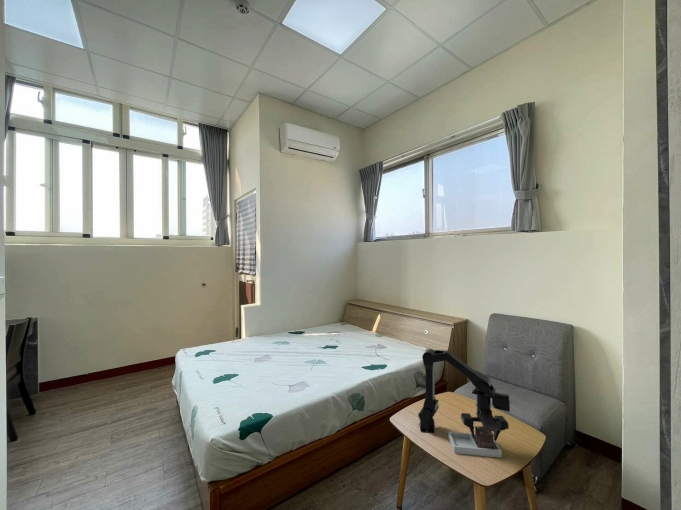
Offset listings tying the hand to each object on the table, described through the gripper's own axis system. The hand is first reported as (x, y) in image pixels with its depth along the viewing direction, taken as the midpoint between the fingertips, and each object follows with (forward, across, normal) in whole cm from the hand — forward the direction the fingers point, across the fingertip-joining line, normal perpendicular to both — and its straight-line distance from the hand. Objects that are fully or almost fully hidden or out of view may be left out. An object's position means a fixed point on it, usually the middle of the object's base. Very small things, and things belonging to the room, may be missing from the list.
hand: (484, 439), depth 123 cm
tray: (+4, -5, 0) cm, 6 cm away
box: (+3, 0, 0) cm, 3 cm away
